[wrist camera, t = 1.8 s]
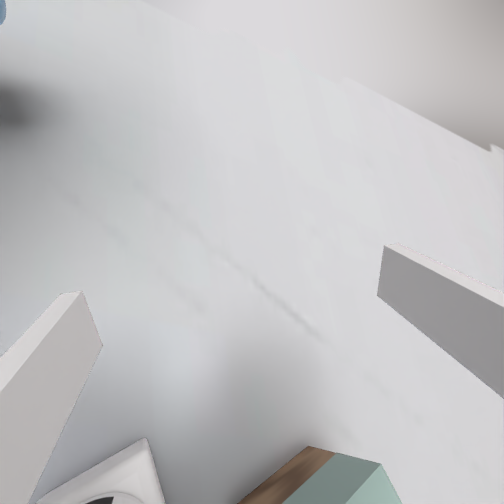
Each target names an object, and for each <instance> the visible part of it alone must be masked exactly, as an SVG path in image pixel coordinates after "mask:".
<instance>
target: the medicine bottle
mask: <svg viewBox="0 0 504 504" xmlns="http://www.w3.org/2000/svg"><path fill="white" fill-rule="evenodd" d="M36 504H166V503H165V499H164V496H163V492H162V489H161V485H160V482H159V478H158V475H157V471H156V468H155V464H154V461H153V457H152V454H151V450H150V447H149V443H148V440H147V439H146V438H143V439H140V440H139V441H137V442H135V443H134V444H132V445H130V446H128V447H127V448H125V449H123V450H121V451H120V452H118V453H116V454H114V455H113V456H111V457H109V458H108V459H106V460H104V461H102V462H101V463H99V464H97V465H95V466H94V467H92V468H90V469H88V470H87V471H85V472H83V473H81V474H80V475H78V476H76V477H75V478H73V479H71V480H69V481H68V482H66V483H64V484H62V485H61V486H59V487H57V488H55V489H54V490H52V491H50V492H48V493H47V494H46V495H44V496H43V497H42V498H41V499H40V500H39V501H38V502H37V503H36Z"/></svg>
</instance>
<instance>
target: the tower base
mask: <svg viewBox="0 0 504 504" xmlns="http://www.w3.org/2000/svg"><path fill="white" fill-rule="evenodd" d="M335 454H336V453H334V452H330V451H326V450H322V449H318V448H314V447H311V446H308V447H306V448H305V449H304V450H303V451H301V452H300V453H299V454H298V455H296V456H295V457H294V458H293V459H292V460H290V461H289V462H288V463H287V464H285V465H284V466H283V467H282V468H280V469H279V470H278V471H277V472H276V473H274V474H273V475H272V476H271V477H269V478H268V479H267V480H266V481H264V482H263V483H262V484H261V485H260V486H258V487H257V488H256V489H255V490H253V491H252V492H251V493H250V494H248V495H247V496H246V497H245V498H244V499H242V500H241V501H240V502H239V503H237V504H282V503H283V502H284V501H285V500H286V499H287V498H288V497H290V496H291V495H292V494H293V493H294V492H295V491H296V490H297V489H298V488H299V487H300V486H301V485H302V484H304V483H305V482H306V481H307V480H308V479H309V478H310V477H311V476H312V475H313V474H314V473H315V472H316V471H318V470H319V469H320V468H321V467H322V466H323V465H324V464H325V463H326V462H327V461H328V460H329V459H330V458H332V457H333V456H334V455H335Z"/></svg>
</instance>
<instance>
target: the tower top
mask: <svg viewBox="0 0 504 504" xmlns="http://www.w3.org/2000/svg"><path fill="white" fill-rule="evenodd" d="M282 504H402V502H401V500H400V498H399V496H398V495H397V493H396V491H395V489H394V487H393V485H392V483H391V481H390V480H389V478H388V476H387V474H386V472H385V470H384V468H383V466H382V465H381V464H380V463H376V462H372V461H368V460H364V459H360V458H356V457H352V456H348V455H344V454H340V453H336V454H335V455H334V456H333V457H332V458H330V459H329V460H328V461H327V462H326V463H325V464H324V465H323V466H322V467H321V468H320V469H319V470H318V471H316V472H315V473H314V474H313V475H312V476H311V477H310V478H309V479H308V480H307V481H306V482H305V483H304V484H302V485H301V486H300V487H299V488H298V489H297V490H296V491H295V492H294V493H293V494H292V495H291V496H290V497H288V498H287V499H286V500H285V501H284V502H283V503H282Z"/></svg>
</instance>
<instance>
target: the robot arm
mask: <svg viewBox="0 0 504 504" xmlns="http://www.w3.org/2000/svg"><path fill="white" fill-rule="evenodd" d="M5 17H6V4H5V0H0V25H1V24H2V23H3V22H4V20H5ZM377 296H378V297H379V298H381V299H382V300H383V301H384V302H386V303H387V304H388V305H389V306H390V307H392V308H393V309H394V310H395V311H397V312H398V313H399V314H400V315H402V316H403V317H404V318H405V319H406V320H408V321H409V322H410V323H411V324H413V325H414V326H415V327H416V328H417V329H419V330H420V331H421V332H422V333H424V334H425V335H426V336H427V337H429V338H430V339H431V340H432V341H433V342H435V343H436V344H437V345H438V346H440V347H441V348H442V349H443V350H444V351H446V352H447V353H448V354H449V355H451V356H452V357H453V358H454V359H456V360H457V361H458V362H459V363H460V364H462V365H463V366H464V367H465V368H467V369H468V370H469V371H470V372H471V373H473V374H474V375H475V376H476V377H478V378H479V379H480V380H481V381H483V382H484V383H485V384H486V385H487V386H489V387H490V388H491V389H492V390H494V391H495V392H496V393H497V394H499V395H500V396H501V397H502V398H503V399H504V293H503V292H501V291H499V290H497V289H495V288H493V287H491V286H489V285H486V284H484V283H482V282H480V281H478V280H476V279H474V278H471V277H469V276H467V275H465V274H463V273H461V272H459V271H457V270H454V269H452V268H450V267H448V266H446V265H444V264H442V263H440V262H437V261H435V260H433V259H431V258H429V257H427V256H425V255H422V254H420V253H418V252H416V251H414V250H412V249H410V248H408V247H405V246H403V245H401V244H399V243H397V244H390V245H384V249H383V256H382V263H381V271H380V278H379V285H378V292H377ZM102 346H103V344H102V342H101V339H100V336H99V334H98V331H97V328H96V326H95V323H94V320H93V318H92V315H91V312H90V310H89V307H88V304H87V302H86V299H85V296H84V294H83V291H76V292H69V293H62V294H60V295H59V296H58V297H57V298H56V299H55V300H54V302H53V303H52V304H51V305H50V306H49V307H48V308H47V309H46V310H45V311H44V312H43V313H42V314H41V315H40V317H39V318H38V319H37V320H36V321H35V322H34V323H33V324H32V325H31V326H30V327H29V328H28V329H27V330H26V332H25V333H24V334H23V335H22V336H21V337H20V338H19V339H18V340H17V341H16V342H15V343H14V344H13V345H12V347H11V348H10V349H9V350H8V351H7V352H6V353H5V354H4V355H3V356H2V357H1V358H0V504H28V502H29V500H30V498H31V496H32V494H33V492H34V490H35V487H36V485H37V483H38V481H39V479H40V477H41V475H42V473H43V471H44V468H45V466H46V464H47V462H48V460H49V458H50V456H51V454H52V452H53V450H54V447H55V445H56V443H57V441H58V439H59V437H60V435H61V433H62V431H63V428H64V426H65V424H66V422H67V420H68V418H69V416H70V414H71V412H72V410H73V407H74V405H75V403H76V401H77V399H78V397H79V395H80V393H81V391H82V388H83V386H84V384H85V382H86V380H87V378H88V376H89V374H90V372H91V370H92V367H93V365H94V363H95V361H96V359H97V357H98V355H99V353H100V351H101V349H102Z"/></svg>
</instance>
